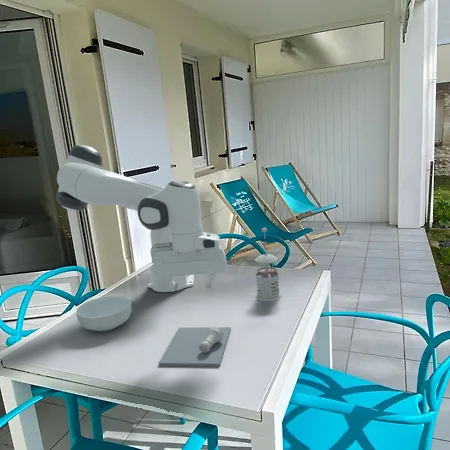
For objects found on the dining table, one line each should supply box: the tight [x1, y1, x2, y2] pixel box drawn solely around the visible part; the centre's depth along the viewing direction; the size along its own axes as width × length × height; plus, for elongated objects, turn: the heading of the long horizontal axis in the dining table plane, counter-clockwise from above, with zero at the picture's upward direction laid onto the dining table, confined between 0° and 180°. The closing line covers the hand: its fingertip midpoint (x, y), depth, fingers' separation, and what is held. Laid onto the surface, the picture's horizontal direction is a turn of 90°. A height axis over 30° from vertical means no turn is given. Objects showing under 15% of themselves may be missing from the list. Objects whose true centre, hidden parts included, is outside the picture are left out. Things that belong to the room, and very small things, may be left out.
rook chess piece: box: [199, 326, 223, 353], centre depth 110 cm, size 4×4×8 cm
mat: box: [158, 326, 232, 368], centre depth 113 cm, size 20×16×1 cm
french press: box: [254, 227, 283, 302], centre depth 143 cm, size 10×12×25 cm
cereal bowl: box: [75, 295, 132, 332], centre depth 130 cm, size 17×17×7 cm
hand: (192, 289), depth 113 cm, fingers open, 8 cm apart
